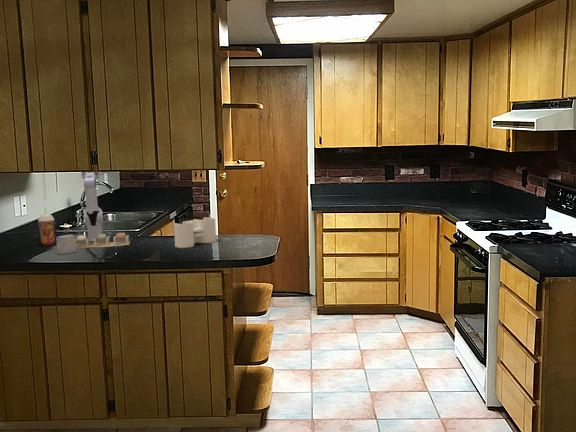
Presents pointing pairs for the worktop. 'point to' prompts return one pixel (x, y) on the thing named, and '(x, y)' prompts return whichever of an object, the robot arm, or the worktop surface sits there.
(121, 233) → the terracotta key
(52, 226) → the smoothie
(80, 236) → the ivory key
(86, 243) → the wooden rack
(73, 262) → the worktop surface
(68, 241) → the medicine box
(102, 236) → the sage key
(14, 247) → the worktop surface
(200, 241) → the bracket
